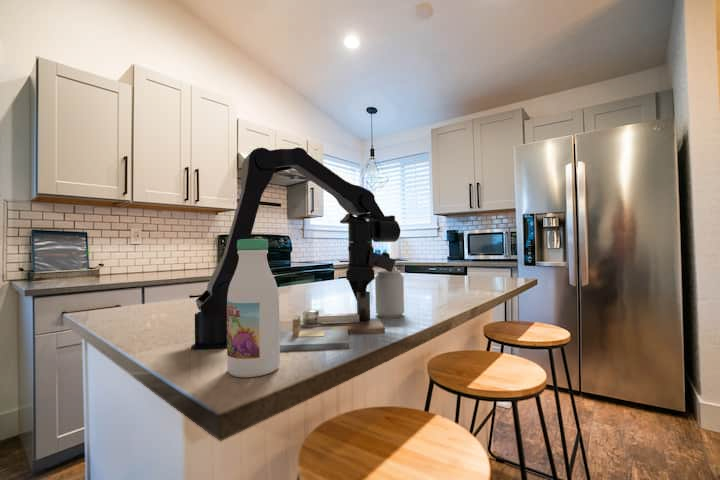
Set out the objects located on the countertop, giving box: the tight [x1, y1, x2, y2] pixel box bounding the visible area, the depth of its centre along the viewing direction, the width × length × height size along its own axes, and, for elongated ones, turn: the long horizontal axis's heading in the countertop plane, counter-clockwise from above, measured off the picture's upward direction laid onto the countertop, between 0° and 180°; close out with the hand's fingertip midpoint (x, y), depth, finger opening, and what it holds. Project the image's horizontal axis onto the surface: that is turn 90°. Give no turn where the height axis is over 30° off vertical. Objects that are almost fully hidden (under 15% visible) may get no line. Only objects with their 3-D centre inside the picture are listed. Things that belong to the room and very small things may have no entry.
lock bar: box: [302, 290, 371, 324], centre depth 79 cm, size 15×4×6 cm, turn 94°
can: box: [374, 269, 405, 319], centre depth 92 cm, size 8×8×12 cm
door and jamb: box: [279, 314, 386, 352], centre depth 73 cm, size 24×20×4 cm
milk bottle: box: [226, 238, 281, 378], centre depth 53 cm, size 8×8×20 cm
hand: (361, 306), depth 84 cm, fingers closed
